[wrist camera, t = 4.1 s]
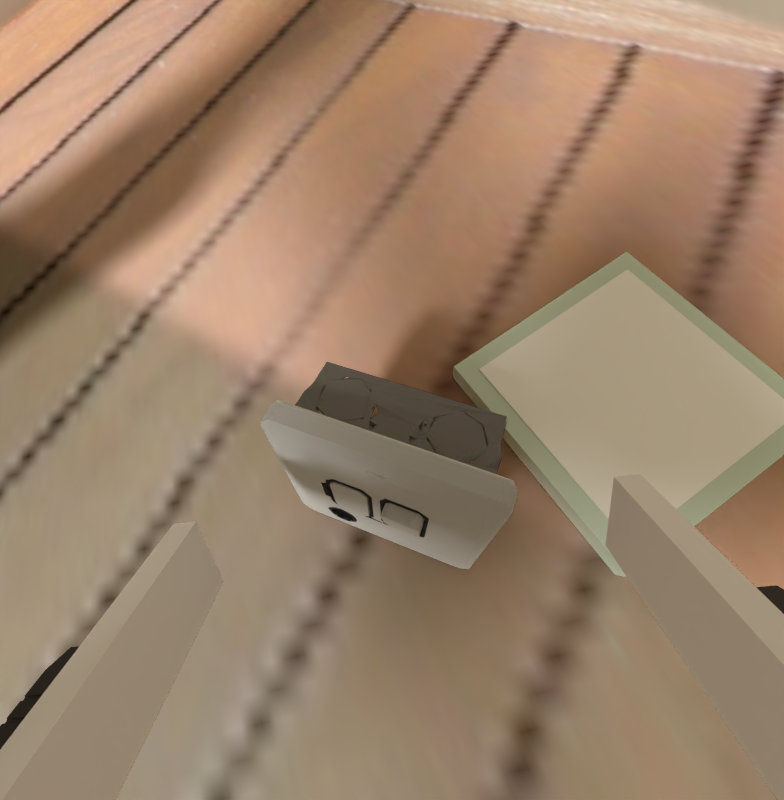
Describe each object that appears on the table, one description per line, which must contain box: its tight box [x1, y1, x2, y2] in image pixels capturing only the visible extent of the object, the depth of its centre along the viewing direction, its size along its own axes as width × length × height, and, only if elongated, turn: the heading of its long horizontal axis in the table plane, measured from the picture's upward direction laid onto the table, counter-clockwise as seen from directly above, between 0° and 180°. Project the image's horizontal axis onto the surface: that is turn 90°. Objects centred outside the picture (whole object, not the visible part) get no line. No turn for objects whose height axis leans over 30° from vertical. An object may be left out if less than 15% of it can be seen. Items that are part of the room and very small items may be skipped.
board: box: [453, 252, 784, 577], centre depth 20 cm, size 13×13×2 cm
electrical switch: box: [260, 362, 518, 569], centre depth 17 cm, size 9×5×9 cm, turn 69°
